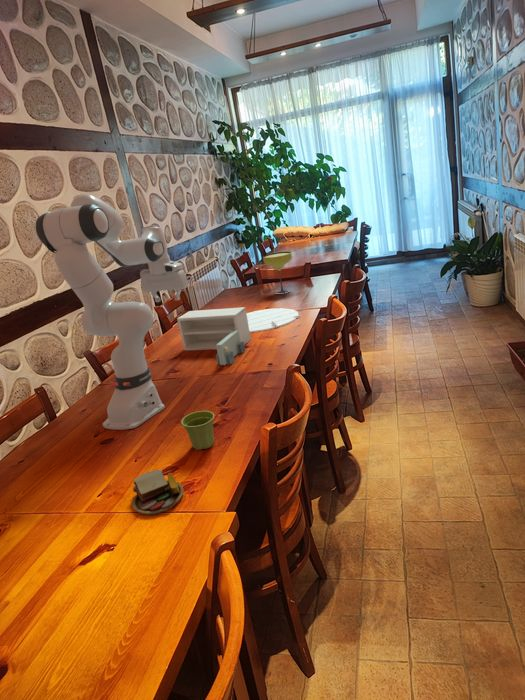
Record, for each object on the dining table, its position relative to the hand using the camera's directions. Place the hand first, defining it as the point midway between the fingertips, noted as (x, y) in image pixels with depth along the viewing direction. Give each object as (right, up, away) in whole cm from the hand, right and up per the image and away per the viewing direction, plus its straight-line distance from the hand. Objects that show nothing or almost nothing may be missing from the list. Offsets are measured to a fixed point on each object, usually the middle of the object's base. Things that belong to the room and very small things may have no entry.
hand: (167, 300), depth 192 cm
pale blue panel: (+25, -23, +11) cm, 36 cm away
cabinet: (+17, -18, +32) cm, 40 cm away
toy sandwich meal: (+13, -57, -77) cm, 96 cm away
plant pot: (+22, -48, -55) cm, 76 cm away
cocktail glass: (+52, +17, +114) cm, 127 cm away
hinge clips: (+25, -23, +11) cm, 36 cm away
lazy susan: (+39, -5, +59) cm, 71 cm away
